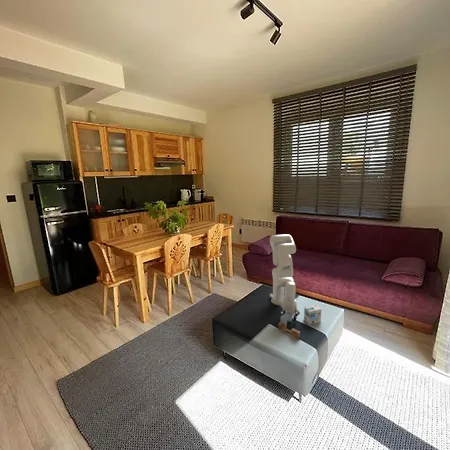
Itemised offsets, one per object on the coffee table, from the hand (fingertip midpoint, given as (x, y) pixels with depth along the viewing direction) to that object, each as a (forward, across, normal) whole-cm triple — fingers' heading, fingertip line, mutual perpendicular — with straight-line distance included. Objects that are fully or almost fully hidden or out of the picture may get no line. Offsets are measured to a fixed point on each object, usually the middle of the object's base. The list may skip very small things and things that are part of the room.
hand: (289, 318), depth 182 cm
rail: (+2, +8, -14) cm, 16 cm away
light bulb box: (+2, +13, +11) cm, 17 cm away
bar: (+2, 0, -4) cm, 4 cm away
